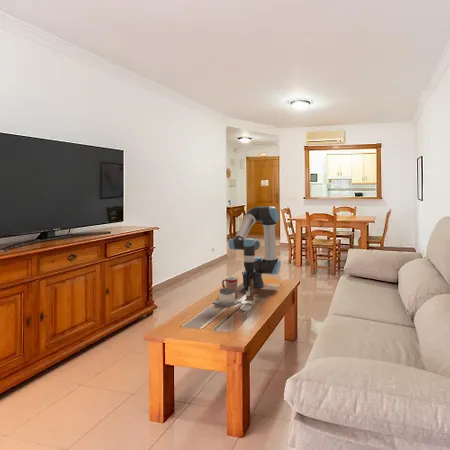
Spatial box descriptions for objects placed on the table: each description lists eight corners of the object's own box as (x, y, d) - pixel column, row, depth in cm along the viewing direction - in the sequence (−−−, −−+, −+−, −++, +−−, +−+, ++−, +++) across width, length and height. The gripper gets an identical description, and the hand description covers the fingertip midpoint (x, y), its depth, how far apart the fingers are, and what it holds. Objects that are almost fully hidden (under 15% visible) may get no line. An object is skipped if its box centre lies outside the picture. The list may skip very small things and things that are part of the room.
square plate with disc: (226, 299, 300) (226, 285, 299) (241, 302, 290) (241, 288, 289) (212, 303, 290) (212, 289, 289) (227, 306, 280) (227, 292, 279)
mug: (240, 296, 308) (240, 277, 307) (233, 298, 301) (233, 280, 300) (226, 293, 316) (226, 275, 315) (219, 296, 309) (219, 278, 307)
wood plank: (249, 299, 292) (248, 277, 290) (253, 300, 289) (253, 278, 288) (246, 300, 290) (245, 278, 288) (250, 301, 287) (250, 279, 285)
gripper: (252, 258, 295) (253, 291, 297) (237, 262, 283) (237, 296, 286) (261, 260, 290) (261, 293, 292) (245, 263, 278) (246, 298, 281)
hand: (249, 294), depth 289 cm, fingers closed on wood plank, 3 cm apart
